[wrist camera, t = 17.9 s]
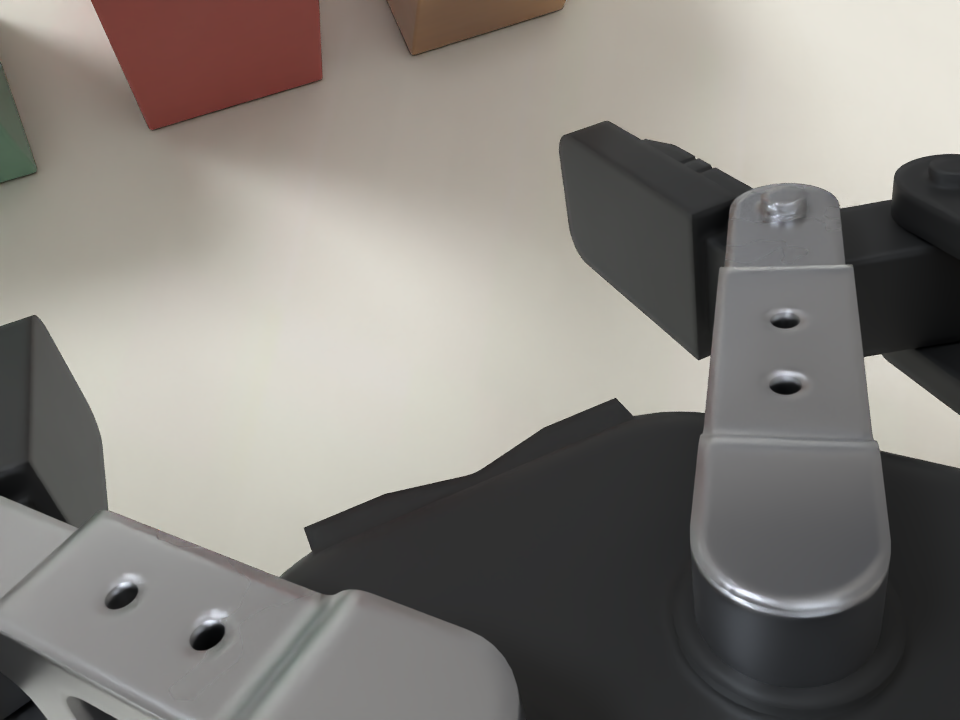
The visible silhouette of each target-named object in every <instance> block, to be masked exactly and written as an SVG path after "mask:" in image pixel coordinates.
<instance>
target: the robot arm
mask: <svg viewBox="0 0 960 720" xmlns="http://www.w3.org/2000/svg"><path fill="white" fill-rule="evenodd" d="M559 155H560V163H561V170H562V178H563V185H564V193H565V200H566V207H567V215H568V222H569V228H570V233H571V236H572V240H573V242H574V245H575V247H576V249H577V251H578V253H579V255H580V256H581V258H582V259H583V260H584V262H585V263H586V264H588V265H589V266H590V267H591V268H592V269H593V270H595V271H596V272H597V273H598V274H599V275H600V276H601V277H603V278H604V279H605V280H606V281H607V282H608V283H610V284H611V285H612V286H613V287H614V288H615V289H616V290H618V291H619V292H620V293H621V294H622V295H623V296H625V297H626V298H627V299H628V300H629V301H630V302H632V303H633V304H634V305H635V306H636V307H637V308H638V309H640V310H641V311H642V312H643V313H644V314H645V315H647V316H648V317H649V318H650V319H651V320H652V321H654V322H655V323H656V324H657V325H658V326H659V327H660V328H662V329H663V330H664V331H665V332H666V333H667V334H669V335H670V336H671V337H672V338H673V339H674V340H676V341H677V342H678V343H679V344H680V345H681V346H682V347H684V348H685V349H686V350H687V351H688V352H689V353H691V354H692V355H693V356H694V357H695V358H696V359H697V360H701V359H703V358H705V357H708V356H710V355H711V359H710V369H709V379H708V389H707V400H706V410H705V413H700V412H660V413H652V414H644V415H638V416H632V414H631V413H630V412H629V411H628V410H627V409H626V408H625V407H624V406H623V405H622V404H621V403H620V402H619V401H618V400H617V399H616V398H614V399H612V400H609V401H607V402H605V403H602V404H600V405H597V406H595V407H593V408H590V409H588V410H585V411H583V412H581V413H578V414H576V415H573V416H571V417H569V418H566V419H564V420H561V421H559V422H557V423H554V424H552V425H549V426H547V427H545V428H543V429H541V430H540V431H538V432H537V433H535V434H534V435H532V436H531V437H529V438H528V439H526V440H525V441H523V442H522V443H520V444H519V445H517V446H516V447H514V448H513V449H511V450H510V451H508V452H507V453H505V454H504V455H502V456H501V457H499V458H498V459H496V460H495V461H493V462H492V463H490V464H489V465H487V466H486V467H484V468H483V469H481V470H479V471H478V472H476V473H473V474H471V475H467V476H463V477H459V478H454V479H450V480H445V481H441V482H436V483H432V484H427V485H423V486H418V487H414V488H409V489H405V490H401V491H396V492H392V493H387V494H384V495H381V496H379V497H377V498H374V499H372V500H369V501H367V502H365V503H362V504H360V505H357V506H355V507H353V508H350V509H348V510H345V511H343V512H341V513H338V514H336V515H333V516H331V517H329V518H326V519H324V520H321V521H319V522H317V523H314V524H312V525H309V526H307V527H305V528H304V530H305V533H306V535H307V538H308V541H309V544H310V547H311V550H312V552H311V553H309V554H308V555H306V556H305V557H304V558H302V559H301V560H299V561H298V562H297V563H295V564H294V565H293V566H292V567H291V568H289V569H288V570H287V571H286V572H284V573H283V574H282V575H281V576H280V577H277V576H274V575H272V574H269V573H267V572H264V571H262V570H259V569H257V568H254V567H251V566H249V565H246V564H244V563H241V562H239V561H236V560H234V559H231V558H229V557H226V556H224V555H221V554H218V553H216V552H213V551H211V550H208V549H206V548H203V547H201V546H198V545H196V544H193V543H191V542H188V541H185V540H183V539H180V538H178V537H175V536H173V535H170V534H168V533H165V532H163V531H160V530H158V529H155V528H152V527H150V526H147V525H145V524H142V523H140V522H137V521H135V520H132V519H130V518H127V517H125V516H122V515H119V514H117V513H114V512H111V511H108V502H107V491H106V480H105V469H104V458H103V447H102V440H101V435H100V432H99V429H98V426H97V423H96V420H95V418H94V415H93V413H92V411H91V408H90V406H89V404H88V402H87V401H86V399H85V397H84V395H83V393H82V392H81V390H80V388H79V386H78V384H77V382H76V381H75V379H74V377H73V375H72V373H71V372H70V370H69V368H68V366H67V364H66V363H65V361H64V359H63V357H62V355H61V354H60V352H59V350H58V348H57V346H56V345H55V343H54V341H53V339H52V337H51V336H50V334H49V332H48V330H47V329H46V327H45V325H44V324H43V322H42V321H41V320H40V319H39V318H38V317H37V316H36V315H32V316H29V317H26V318H24V319H21V320H18V321H15V322H12V323H9V324H6V325H3V326H0V720H960V468H955V467H951V466H946V465H942V464H937V463H933V462H928V461H924V460H919V459H915V458H910V457H906V456H902V455H897V454H893V453H888V452H884V451H880V450H879V445H878V442H877V441H875V440H874V439H873V435H872V427H871V419H870V410H869V401H868V392H867V383H866V375H865V366H864V357H866V356H872V355H878V354H882V355H883V357H884V358H885V359H886V360H887V361H889V362H890V363H891V364H892V365H894V366H895V367H896V368H898V369H899V370H900V371H902V372H903V373H904V374H906V375H907V376H908V377H910V378H911V379H912V380H914V381H915V382H916V383H918V384H919V385H920V386H922V387H923V388H924V389H926V390H927V391H928V392H930V393H931V394H932V395H934V396H935V397H936V398H938V399H939V400H940V401H942V402H943V403H944V404H946V405H947V406H948V407H950V408H951V409H952V410H954V411H955V412H956V413H958V414H959V415H960V154H942V155H932V156H927V157H922V158H919V159H915V160H912V161H910V162H908V163H906V164H904V165H902V166H901V167H900V168H899V169H898V170H897V171H896V173H895V176H894V183H893V194H892V200H887V201H881V202H876V203H870V204H864V205H859V206H853V207H848V208H840V207H839V202H838V200H837V199H836V197H835V196H834V195H832V194H831V193H830V192H828V191H826V190H824V189H821V188H819V187H815V186H811V185H805V184H796V183H781V184H772V185H766V186H762V187H758V188H755V189H753V188H751V187H749V186H748V185H746V184H744V183H742V182H740V181H739V180H737V179H735V178H733V177H731V176H730V175H728V174H726V173H724V172H722V171H721V170H719V169H717V168H713V169H712V167H711V165H710V164H708V163H706V162H704V161H703V160H701V159H695V156H694V155H692V154H690V153H688V152H686V151H685V150H683V149H681V148H679V147H677V146H676V145H672V144H667V143H662V142H657V141H652V140H647V139H644V140H641V139H639V138H637V137H636V136H634V135H632V134H630V133H629V132H627V131H625V130H623V129H622V128H620V127H618V126H617V125H615V124H613V123H611V122H609V121H604V122H601V123H598V124H595V125H592V126H589V127H586V128H583V129H580V130H577V131H575V132H572V133H569V134H566V135H563V136H562V138H561V140H560V144H559Z"/></svg>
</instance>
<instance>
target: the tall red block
mask: <svg viewBox="0 0 960 720" xmlns="http://www.w3.org/2000/svg"><path fill="white" fill-rule="evenodd" d="M91 2H92V4H93V6H94V8H95V10H96V13H97V15H98V17H99V19H100V21H101V24H102V26H103V28H104V30H105V33H106V35H107V37H108V39H109V41H110V44H111V46H112V48H113V50H114V52H115V55H116V57H117V59H118V61H119V64H120V66H121V68H122V70H123V72H124V75H125V77H126V79H127V81H128V83H129V86H130V88H131V90H132V92H133V94H134V97H135V99H136V101H137V103H138V106H139V108H140V110H141V112H142V114H143V117H144V119H145V121H146V123H147V125H148V128H149V129H150V130H154V129H157V128H161V127H164V126H167V125H171V124H174V123H177V122H181V121H184V120H187V119H191V118H194V117H197V116H201V115H204V114H207V113H211V112H214V111H217V110H221V109H224V108H227V107H231V106H234V105H238V104H241V103H244V102H248V101H251V100H254V99H258V98H261V97H264V96H268V95H271V94H274V93H278V92H281V91H284V90H288V89H291V88H294V87H298V86H301V85H304V84H308V83H311V82H314V81H318V80H321V79H322V77H323V75H322V54H321V33H320V13H319V0H91Z"/></svg>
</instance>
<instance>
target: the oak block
mask: <svg viewBox="0 0 960 720" xmlns="http://www.w3.org/2000/svg"><path fill="white" fill-rule="evenodd" d="M387 2H388V4H389V6H390V8H391V11H392V13H393V15H394V17H395V19H396V22H397V24H398V26H399V28H400V31H401V33H402V35H403V37H404V40H405V42H406V44H407V46H408V49H409V51H410V53H411V54H412V55H416V54H419V53H423V52H426V51H429V50H432V49H435V48H439V47H442V46H445V45H448V44H451V43H455V42H458V41H461V40H464V39H468V38H471V37H474V36H477V35H480V34H484V33H487V32H490V31H493V30H496V29H500V28H503V27H506V26H509V25H512V24H516V23H519V22H522V21H525V20H529V19H532V18H535V17H538V16H541V15H545V14H548V13H551V12H554V11H557V10H561V9H562V8H563V7H564V4H565V2H566V0H387Z"/></svg>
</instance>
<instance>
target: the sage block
mask: <svg viewBox="0 0 960 720" xmlns="http://www.w3.org/2000/svg"><path fill="white" fill-rule="evenodd" d="M36 171H37V167H36V164H35V161H34V158H33V155H32V152H31V149H30V146H29V143H28V140H27V138H26V135H25V132H24V129H23V126H22V123H21V120H20V117H19V114H18V111H17V108H16V105H15V102H14V99H13V96H12V93H11V90H10V87H9V85H8V82H7V79H6V76H5V73H4V70H3V67H2V64H1V61H0V183H1V182H4V181H8V180H11V179H15V178H18V177H21V176H25V175H28V174H32V173H35V172H36Z"/></svg>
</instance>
